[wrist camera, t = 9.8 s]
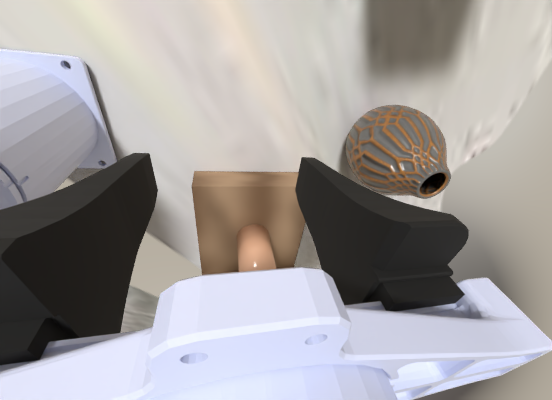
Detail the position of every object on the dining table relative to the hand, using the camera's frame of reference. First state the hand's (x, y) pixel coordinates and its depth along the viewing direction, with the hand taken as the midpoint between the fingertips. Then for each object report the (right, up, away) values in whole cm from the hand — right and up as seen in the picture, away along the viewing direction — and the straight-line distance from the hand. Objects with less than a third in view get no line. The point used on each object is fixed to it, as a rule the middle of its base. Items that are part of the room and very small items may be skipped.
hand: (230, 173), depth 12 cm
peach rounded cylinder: (0, -5, +13) cm, 14 cm away
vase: (+11, +5, +11) cm, 17 cm away
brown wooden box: (-1, -4, +15) cm, 15 cm away
